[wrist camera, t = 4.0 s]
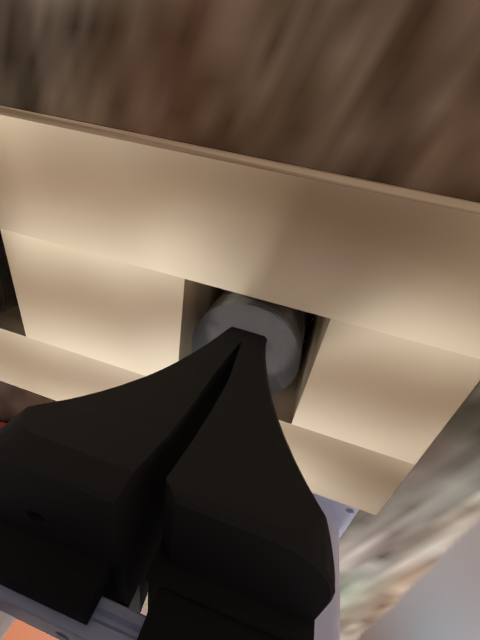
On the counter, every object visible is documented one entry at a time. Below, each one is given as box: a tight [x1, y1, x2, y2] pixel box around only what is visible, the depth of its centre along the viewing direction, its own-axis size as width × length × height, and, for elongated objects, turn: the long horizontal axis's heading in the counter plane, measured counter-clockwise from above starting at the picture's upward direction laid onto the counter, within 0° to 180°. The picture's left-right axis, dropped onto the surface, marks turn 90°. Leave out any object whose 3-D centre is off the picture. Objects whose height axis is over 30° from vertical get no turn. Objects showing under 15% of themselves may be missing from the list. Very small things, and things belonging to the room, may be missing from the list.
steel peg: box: [192, 290, 308, 395], centre depth 13 cm, size 4×4×5 cm
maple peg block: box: [0, 105, 480, 515], centre depth 14 cm, size 12×26×5 cm, turn 80°
